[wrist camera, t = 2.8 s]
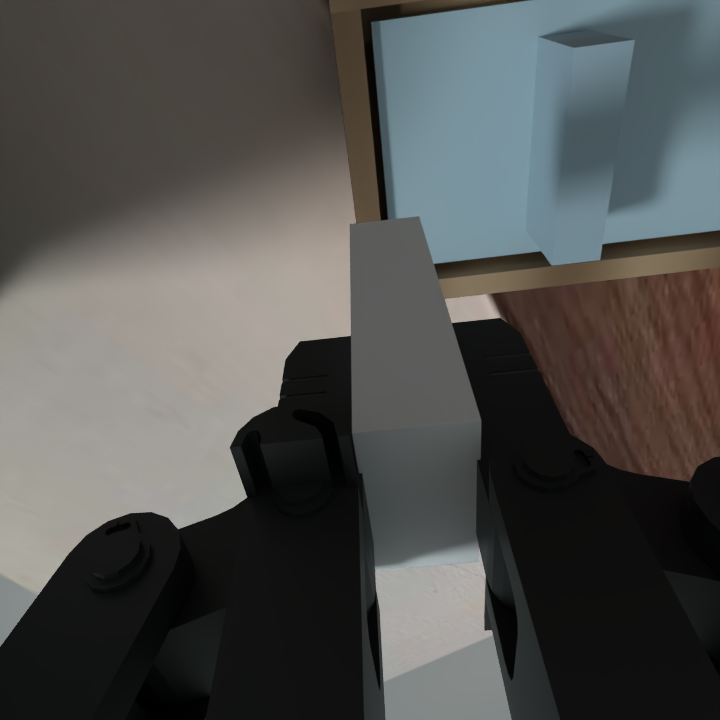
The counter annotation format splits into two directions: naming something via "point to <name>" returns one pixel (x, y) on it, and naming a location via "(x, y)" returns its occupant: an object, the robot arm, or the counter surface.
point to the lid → (551, 124)
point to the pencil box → (492, 274)
